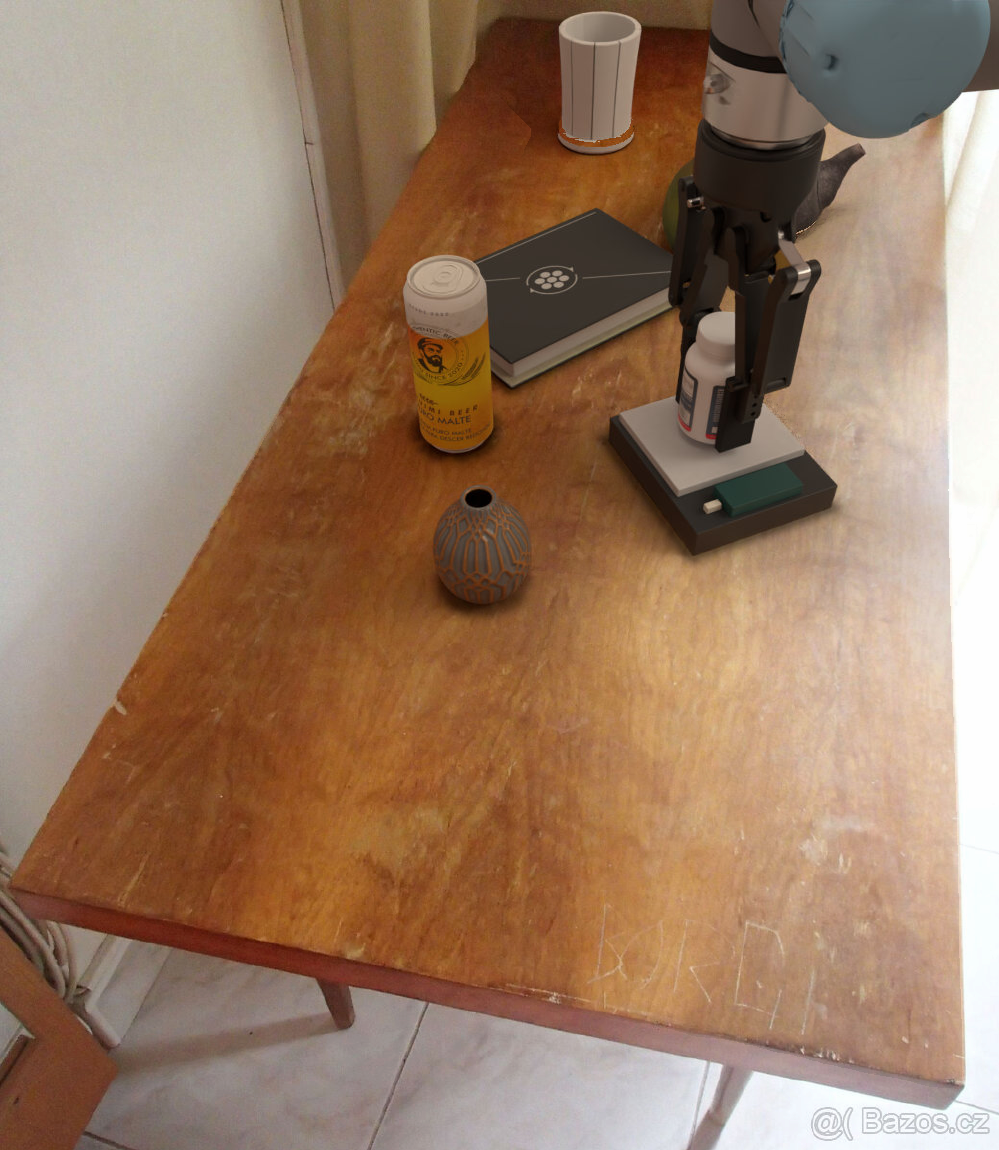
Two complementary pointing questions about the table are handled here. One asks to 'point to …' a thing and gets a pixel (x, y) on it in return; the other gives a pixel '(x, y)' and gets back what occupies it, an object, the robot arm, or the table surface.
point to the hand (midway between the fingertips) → (712, 420)
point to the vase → (482, 547)
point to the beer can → (450, 351)
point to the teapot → (826, 185)
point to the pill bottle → (707, 376)
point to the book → (569, 293)
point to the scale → (720, 476)
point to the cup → (597, 77)
